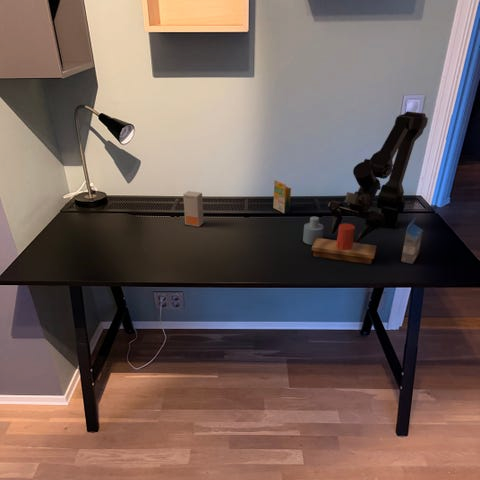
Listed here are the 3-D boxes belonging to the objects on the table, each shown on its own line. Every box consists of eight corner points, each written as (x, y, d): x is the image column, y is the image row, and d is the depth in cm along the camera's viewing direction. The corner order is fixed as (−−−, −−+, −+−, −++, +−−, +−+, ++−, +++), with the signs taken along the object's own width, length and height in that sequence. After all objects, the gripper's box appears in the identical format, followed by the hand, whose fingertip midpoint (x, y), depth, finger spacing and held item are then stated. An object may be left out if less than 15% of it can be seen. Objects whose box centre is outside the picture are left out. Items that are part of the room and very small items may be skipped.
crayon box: (289, 212, 185) (291, 183, 178) (284, 213, 183) (285, 184, 177) (278, 206, 190) (279, 178, 183) (273, 208, 188) (274, 180, 182)
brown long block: (374, 255, 152) (376, 245, 150) (372, 265, 147) (374, 255, 145) (315, 247, 158) (316, 237, 156) (311, 256, 152) (311, 247, 150)
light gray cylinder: (323, 238, 164) (326, 215, 159) (320, 246, 158) (322, 223, 154) (305, 235, 166) (306, 213, 161) (301, 243, 160) (302, 220, 156)
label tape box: (412, 264, 147) (420, 228, 140) (399, 261, 149) (407, 226, 142) (419, 253, 153) (427, 219, 146) (407, 251, 155) (414, 216, 148)
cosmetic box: (185, 224, 175) (182, 194, 168) (190, 220, 178) (187, 190, 171) (199, 227, 173) (197, 196, 166) (204, 223, 176) (202, 192, 169)
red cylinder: (349, 242, 152) (352, 223, 148) (354, 249, 148) (356, 229, 144) (334, 243, 152) (337, 223, 148) (338, 250, 148) (341, 230, 144)
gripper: (333, 175, 147) (312, 218, 146) (388, 187, 137) (365, 234, 136) (342, 193, 156) (322, 233, 155) (394, 205, 146) (373, 248, 146)
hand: (344, 237), depth 148 cm, fingers open, 9 cm apart
